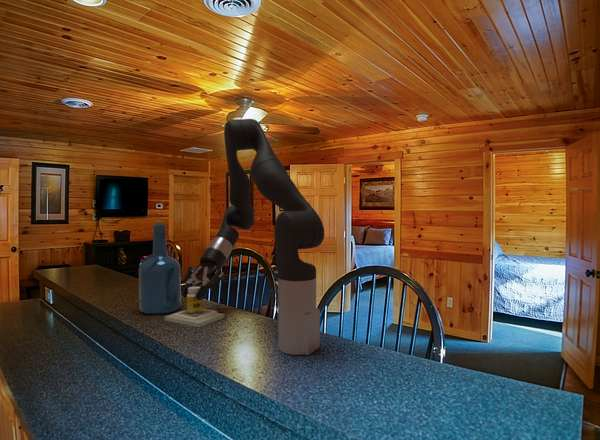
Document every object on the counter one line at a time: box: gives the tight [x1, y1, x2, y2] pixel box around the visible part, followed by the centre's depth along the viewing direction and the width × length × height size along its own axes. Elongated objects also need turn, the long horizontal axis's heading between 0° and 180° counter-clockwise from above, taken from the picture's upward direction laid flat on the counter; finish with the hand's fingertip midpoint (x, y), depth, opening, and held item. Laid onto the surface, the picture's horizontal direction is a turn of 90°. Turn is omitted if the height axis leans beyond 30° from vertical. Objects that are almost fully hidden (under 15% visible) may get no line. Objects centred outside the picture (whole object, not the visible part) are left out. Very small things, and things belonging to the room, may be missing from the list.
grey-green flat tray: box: [164, 308, 225, 328], centre depth 119 cm, size 14×11×2 cm
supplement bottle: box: [186, 286, 204, 316], centre depth 119 cm, size 5×5×8 cm
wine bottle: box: [138, 220, 182, 315], centre depth 129 cm, size 14×13×30 cm
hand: (190, 297), depth 117 cm, fingers open, 5 cm apart
